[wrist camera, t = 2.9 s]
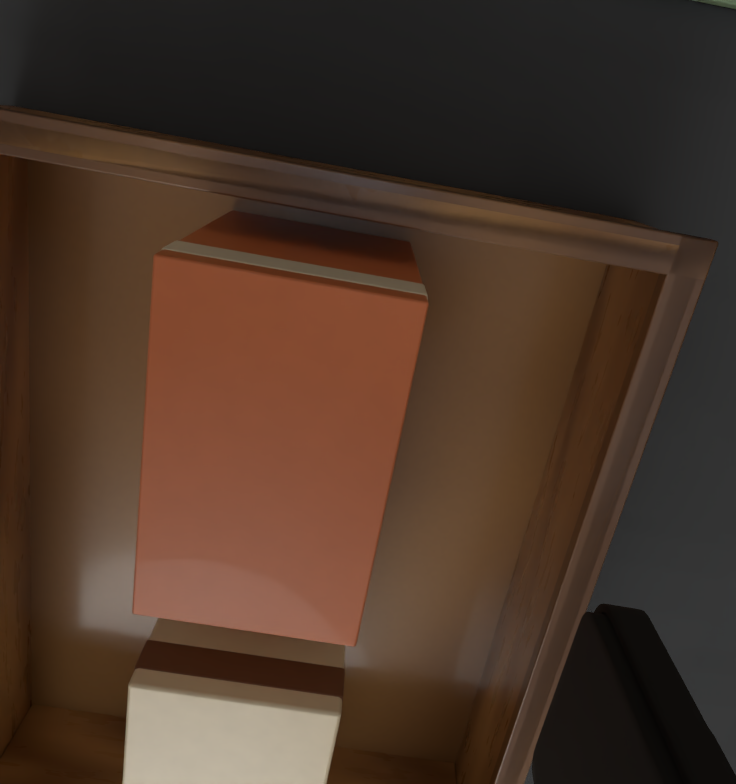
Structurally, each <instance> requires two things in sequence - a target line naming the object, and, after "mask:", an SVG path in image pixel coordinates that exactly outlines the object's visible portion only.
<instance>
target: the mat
mask: <svg viewBox="0 0 736 784" xmlns="http://www.w3.org/2000/svg"><path fill="white" fill-rule="evenodd" d="M693 1H698V2H703V3H708V4H712V5H717V6H722V7H727V8H732V9H736V0H693Z"/></svg>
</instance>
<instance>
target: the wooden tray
mask: <svg viewBox="0 0 736 784" xmlns="http://www.w3.org/2000/svg"><path fill="white" fill-rule="evenodd" d="M232 210H235V211H241V212H246V213H252V214H258V215H263V216H269V217H274V218H280V219H285V220H291V221H296V222H302V223H308V224H313V225H319V226H324V227H330V228H335V229H341V230H346V231H352V232H358V233H363V234H369V235H374V236H380V237H385V238H391V239H396V240H402V241H407V242H410V243H411V246H412V249H413V253H414V256H415V259H416V263H417V266H418V270H419V273H420V276H421V280H422V283H423V285H424V286H425V289H426V292H427V295H428V304H429V306H428V311H427V315H426V320H425V325H424V329H423V334H422V339H421V343H420V348H419V353H418V357H417V362H416V367H415V372H414V376H413V381H412V386H411V390H410V395H409V400H408V404H407V409H406V414H405V419H404V423H403V428H402V433H401V437H400V442H399V447H398V451H397V456H396V461H395V466H394V470H393V475H392V480H391V484H390V489H389V494H388V498H387V503H386V508H385V513H384V517H383V522H382V527H381V531H380V536H379V541H378V545H377V550H376V555H375V560H374V564H373V569H372V574H371V578H370V583H369V588H368V592H367V597H366V602H365V607H364V611H363V616H362V621H361V625H360V630H359V635H358V639H357V644H356V646H354V647H352V646H346V645H345V661H344V670H345V677H344V695H343V702H342V711H341V718H340V723H339V728H338V732H337V737H336V742H335V747H334V751H333V756H332V761H331V765H330V770H329V775H328V779H327V784H524V782H525V779H526V776H527V774H528V771H529V768H530V765H531V763H532V760H533V753H534V749H535V746H536V743H537V741H538V738H539V735H540V732H541V729H542V727H543V724H544V721H545V718H546V715H547V713H548V710H549V707H550V704H551V702H552V699H553V696H554V693H555V690H556V688H557V685H558V682H559V679H560V676H561V674H562V671H563V668H564V665H565V662H566V660H567V657H568V654H569V651H570V648H571V646H572V643H573V640H574V637H575V634H576V632H577V629H578V626H579V623H580V620H581V618H582V616H583V615H584V614H585V613H586V610H587V607H588V604H589V601H590V599H591V596H592V593H593V590H594V588H595V585H596V582H597V579H598V576H599V574H600V571H601V568H602V565H603V563H604V560H605V557H606V554H607V551H608V549H609V546H610V543H611V540H612V538H613V535H614V532H615V529H616V526H617V524H618V521H619V518H620V515H621V513H622V510H623V507H624V504H625V501H626V499H627V496H628V493H629V490H630V488H631V485H632V482H633V479H634V476H635V474H636V471H637V468H638V465H639V463H640V460H641V457H642V454H643V451H644V449H645V446H646V443H647V440H648V438H649V435H650V432H651V429H652V426H653V424H654V421H655V418H656V415H657V413H658V410H659V407H660V404H661V401H662V399H663V396H664V393H665V390H666V388H667V385H668V382H669V379H670V376H671V374H672V371H673V368H674V365H675V363H676V360H677V357H678V354H679V351H680V349H681V346H682V343H683V340H684V338H685V335H686V332H687V329H688V326H689V324H690V321H691V318H692V315H693V312H694V310H695V307H696V304H697V301H698V299H699V296H700V293H701V290H702V287H703V285H704V282H705V279H706V276H707V274H708V271H709V268H710V265H711V262H712V260H713V257H714V254H715V251H716V249H717V246H718V242H717V241H715V240H712V239H708V238H702V237H697V236H691V235H686V234H681V233H675V232H670V231H664V230H659V229H656V228H653V227H651V226H648V225H645V224H642V223H640V222H637V221H633V220H628V219H622V218H617V217H611V216H606V215H601V214H595V213H590V212H584V211H579V210H573V209H568V208H563V207H557V206H552V205H546V204H541V203H536V202H530V201H525V200H519V199H514V198H509V197H503V196H498V195H492V194H487V193H482V192H476V191H471V190H465V189H460V188H455V187H449V186H444V185H438V184H433V183H428V182H422V181H417V180H411V179H406V178H401V177H395V176H390V175H384V174H379V173H373V172H368V171H363V170H357V169H352V168H346V167H341V166H336V165H330V164H325V163H319V162H314V161H309V160H303V159H298V158H292V157H287V156H282V155H276V154H271V153H265V152H260V151H255V150H249V149H244V148H238V147H233V146H228V145H222V144H217V143H211V142H206V141H201V140H195V139H190V138H184V137H179V136H173V135H168V134H163V133H157V132H152V131H146V130H141V129H136V128H130V127H125V126H119V125H114V124H109V123H103V122H98V121H92V120H87V119H82V118H76V117H71V116H65V115H60V114H55V113H49V112H44V111H38V110H33V109H28V108H22V107H17V106H8V105H0V784H122V781H123V764H124V747H125V731H126V714H127V698H128V684H129V682H130V680H131V677H132V675H133V673H134V667H135V665H136V663H137V661H138V658H139V656H140V654H141V652H142V649H143V647H144V645H145V643H146V641H147V640H148V639H149V637H150V635H151V633H152V630H153V628H154V626H155V624H156V621H157V619H158V618H156V617H150V616H143V615H136V614H133V613H132V606H133V589H134V573H135V556H136V539H137V523H138V506H139V489H140V473H141V456H142V439H143V423H144V406H145V389H146V373H147V356H148V339H149V322H150V306H151V289H152V272H153V256H154V254H156V253H158V252H159V251H161V250H162V248H164V247H165V246H167V245H169V244H171V243H173V242H174V241H179V240H181V239H182V238H184V237H186V236H188V235H189V234H191V233H193V232H195V231H196V230H198V229H200V228H202V227H203V226H205V225H207V224H209V223H210V222H212V221H214V220H216V219H218V218H219V217H221V216H223V215H225V214H226V213H228V212H230V211H232Z"/></svg>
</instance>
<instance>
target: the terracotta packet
mask: <svg viewBox="0 0 736 784" xmlns="http://www.w3.org/2000/svg"><path fill="white" fill-rule="evenodd" d="M428 306H429V304H428V295H427V292H426V289H425V286H424V285H423V283H422V280H421V276H420V273H419V270H418V266H417V263H416V259H415V256H414V253H413V249H412V246H411V243H410V242H407V241H402V240H396V239H391V238H385V237H380V236H374V235H369V234H363V233H358V232H352V231H346V230H341V229H335V228H330V227H324V226H319V225H313V224H308V223H302V222H296V221H291V220H285V219H280V218H274V217H269V216H263V215H258V214H252V213H246V212H241V211H235V210H232V211H230V212H228V213H226V214H225V215H223V216H221V217H219V218H218V219H216V220H214V221H212V222H210V223H209V224H207V225H205V226H203V227H202V228H200V229H198V230H196V231H195V232H193V233H191V234H189V235H188V236H186V237H184V238H182V239H181V240H179V241H174V242H173V243H171V244H169V245H167V246H165V247H164V248H162V250H161V251H159V252H158V253H156V254H154V256H153V272H152V289H151V306H150V322H149V339H148V356H147V373H146V389H145V406H144V423H143V439H142V456H141V473H140V489H139V506H138V523H137V539H136V556H135V573H134V589H133V606H132V613H133V614H136V615H143V616H150V617H156V618H163V619H170V620H177V621H183V622H190V623H197V624H204V625H210V626H217V627H224V628H231V629H237V630H244V631H251V632H258V633H265V634H271V635H278V636H285V637H292V638H298V639H305V640H312V641H319V642H325V643H332V644H339V645H346V646H352V647H354V646H356V644H357V639H358V635H359V630H360V625H361V621H362V616H363V611H364V607H365V602H366V597H367V592H368V588H369V583H370V578H371V574H372V569H373V564H374V560H375V555H376V550H377V545H378V541H379V536H380V531H381V527H382V522H383V517H384V513H385V508H386V503H387V498H388V494H389V489H390V484H391V480H392V475H393V470H394V466H395V461H396V456H397V451H398V447H399V442H400V437H401V433H402V428H403V423H404V419H405V414H406V409H407V404H408V400H409V395H410V390H411V386H412V381H413V376H414V372H415V367H416V362H417V357H418V353H419V348H420V343H421V339H422V334H423V329H424V325H425V320H426V315H427V311H428Z"/></svg>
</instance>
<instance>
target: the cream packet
mask: <svg viewBox="0 0 736 784" xmlns="http://www.w3.org/2000/svg"><path fill="white" fill-rule="evenodd" d="M344 661H345V645H339V644H332V643H325V642H319V641H312V640H305V639H298V638H292V637H285V636H278V635H271V634H265V633H258V632H251V631H244V630H237V629H231V628H224V627H217V626H210V625H204V624H197V623H190V622H183V621H177V620H170V619H163V618H158V619H157V621H156V624H155V626H154V628H153V630H152V633H151V635H150V637H149V639H148V640H147V641H146V643H145V645H144V647H143V649H142V652H141V654H140V656H139V658H138V661H137V663H136V665H135V667H134V673H133V675H132V677H131V680H130V682H129V684H128V698H127V714H126V731H125V747H124V764H123V781H122V784H327V779H328V775H329V770H330V765H331V761H332V756H333V751H334V747H335V742H336V737H337V732H338V728H339V723H340V718H341V711H342V702H343V695H344V677H345V670H344Z"/></svg>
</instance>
